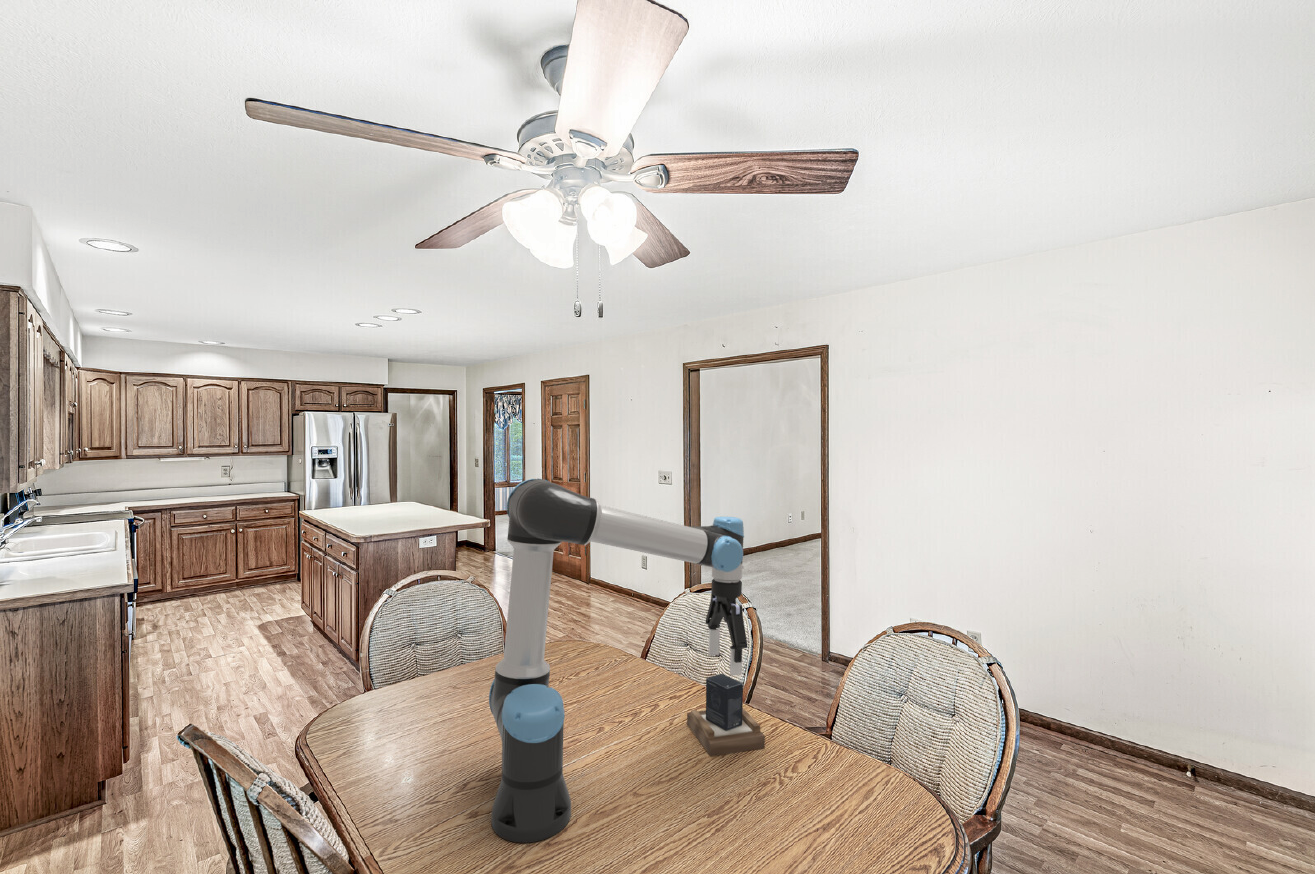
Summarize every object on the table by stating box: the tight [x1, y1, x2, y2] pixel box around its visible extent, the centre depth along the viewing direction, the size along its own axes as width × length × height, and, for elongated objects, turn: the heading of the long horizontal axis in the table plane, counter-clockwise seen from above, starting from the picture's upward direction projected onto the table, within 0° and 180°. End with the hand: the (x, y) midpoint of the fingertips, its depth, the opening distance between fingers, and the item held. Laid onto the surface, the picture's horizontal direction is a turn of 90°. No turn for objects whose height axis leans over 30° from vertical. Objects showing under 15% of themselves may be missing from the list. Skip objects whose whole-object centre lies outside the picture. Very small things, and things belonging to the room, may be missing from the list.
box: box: [705, 673, 744, 731], centre depth 147 cm, size 8×6×11 cm
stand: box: [686, 708, 766, 757], centre depth 147 cm, size 16×14×4 cm
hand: (724, 664), depth 147 cm, fingers open, 13 cm apart
